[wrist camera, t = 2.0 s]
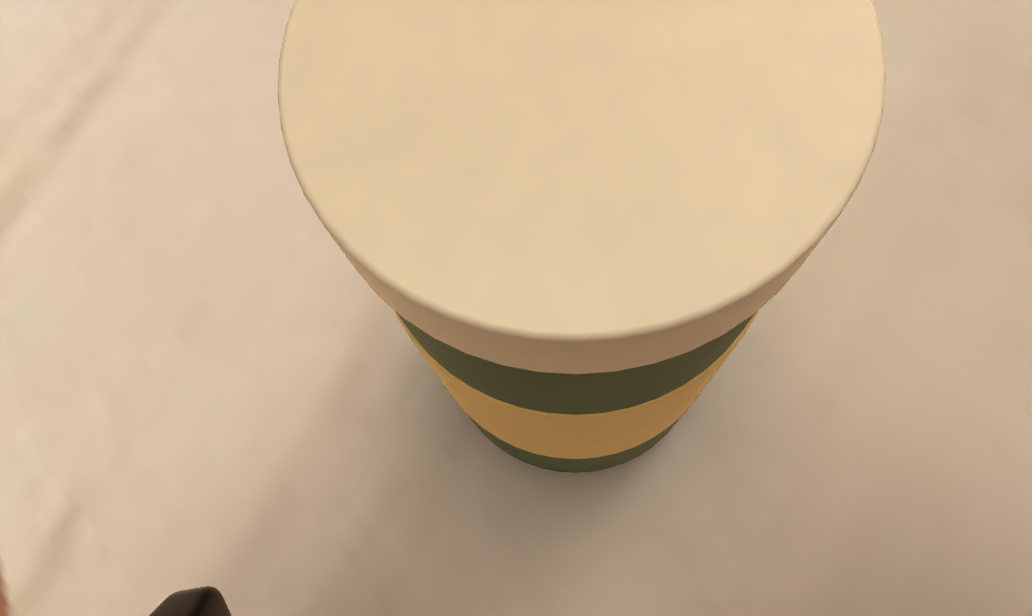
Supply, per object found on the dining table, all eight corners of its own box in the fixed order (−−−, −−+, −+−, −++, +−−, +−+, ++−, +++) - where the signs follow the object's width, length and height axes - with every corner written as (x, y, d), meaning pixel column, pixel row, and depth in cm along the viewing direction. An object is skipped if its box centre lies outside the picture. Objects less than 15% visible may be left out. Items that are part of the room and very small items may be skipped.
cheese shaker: (711, 476, 19) (933, 337, 7) (442, 476, 20) (241, 344, 8) (694, 227, 21) (848, -199, 9) (451, 232, 22) (302, -168, 10)
